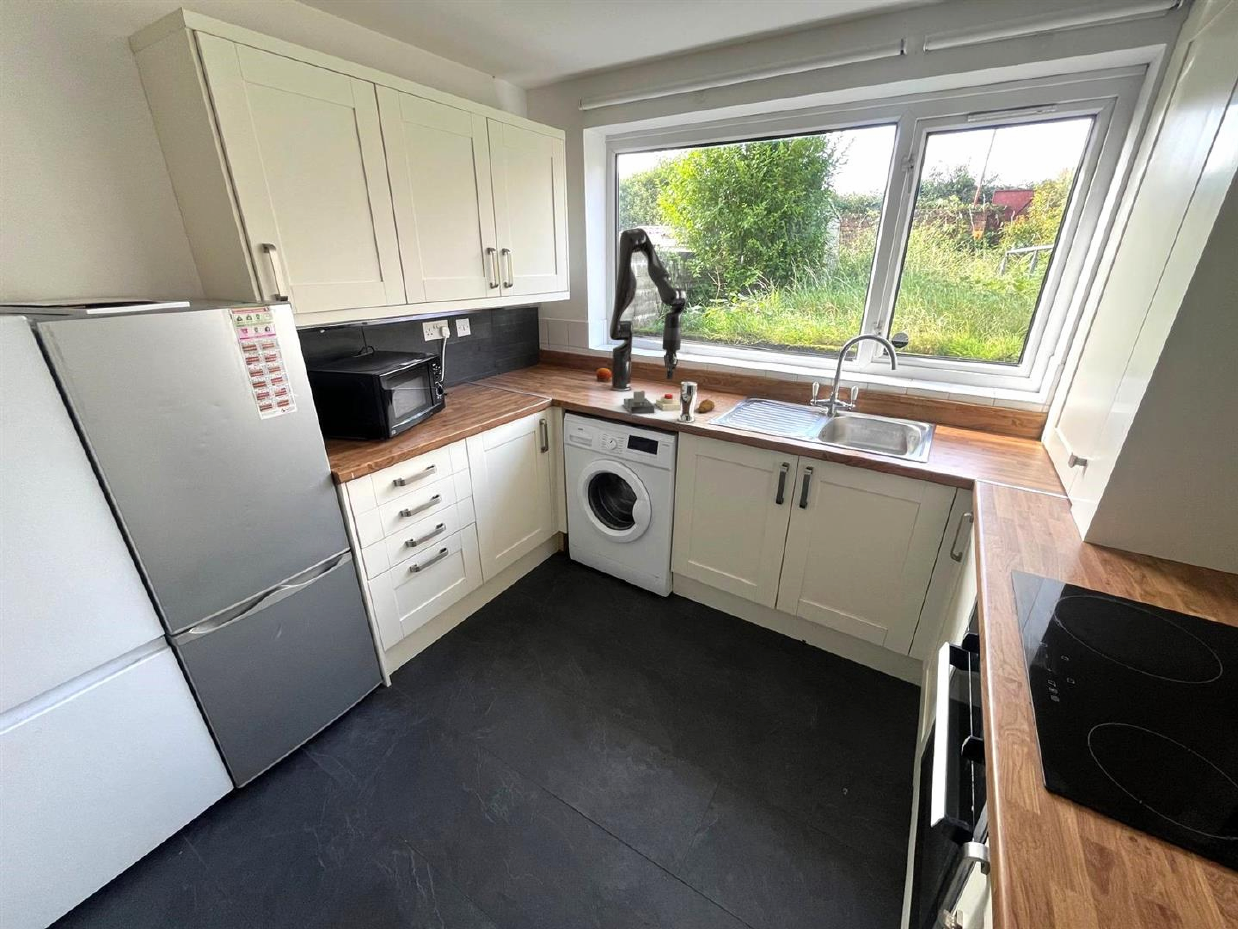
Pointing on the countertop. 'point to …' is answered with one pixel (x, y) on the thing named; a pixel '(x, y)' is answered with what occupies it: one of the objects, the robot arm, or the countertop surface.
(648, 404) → the hob panel
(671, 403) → the ignition block
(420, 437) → the countertop surface
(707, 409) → the brown lumpy oval piece
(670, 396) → the ignition button
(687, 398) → the beer glass
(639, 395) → the knob
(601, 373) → the fruit
